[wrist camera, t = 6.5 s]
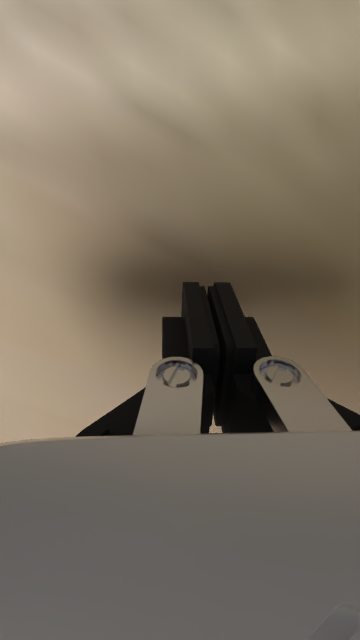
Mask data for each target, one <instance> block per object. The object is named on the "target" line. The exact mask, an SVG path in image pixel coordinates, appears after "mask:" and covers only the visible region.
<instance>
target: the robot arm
mask: <svg viewBox="0 0 360 640" xmlns="http://www.w3.org/2000/svg"><path fill="white" fill-rule="evenodd" d="M213 415H214V420H215V425H216V426H221V427H222V432H223V433H209V427H210V426H211V424H212V417H213ZM0 640H360V415H359V414H357V413H355V412H353V411H351V410H349V409H347V408H345V407H343V406H341V405H339V404H337V403H335V402H333V401H331V400H329V399H327V398H326V397H325V396H324V394H323V393H322V392H321V391H320V389H319V388H318V387H317V386H316V384H315V383H314V382H313V381H312V379H311V378H310V377H309V376H308V374H307V373H306V372H305V371H304V369H303V368H301V367H300V366H299V365H298V364H297V363H295V362H293V361H291V360H289V359H286V358H283V357H277V356H272V355H271V353H270V351H269V349H268V347H267V345H266V343H265V340H264V338H263V336H262V334H261V332H260V330H259V328H258V326H257V323H256V321H255V319H254V318H253V317H244V314H243V312H242V310H241V307H240V305H239V302H238V300H237V298H236V295H235V293H234V291H233V288H232V286H231V284H230V283H216V282H215V283H214V286H209V287H208V294H206V291H205V287H204V286H199V283H198V282H183V292H182V316H181V317H163V318H162V360H160V361H158V362H157V363H155V364H154V365H153V367H152V368H151V370H150V374H149V377H148V381H147V385H146V387H145V388H144V389H143V390H141V391H140V392H138V393H137V394H135V395H134V396H132V397H131V398H129V399H128V400H126V401H125V402H123V403H122V404H120V405H119V406H117V407H116V408H115V409H113V410H112V411H110V412H109V413H107V414H106V415H104V416H103V417H101V418H100V419H98V420H97V421H95V422H94V423H92V424H91V425H90V426H88V427H87V428H85V429H84V430H82V431H81V432H80V433H79V434H78V435H77V436H76V437H64V438H47V439H30V440H21V441H13V442H5V443H0Z"/></svg>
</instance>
